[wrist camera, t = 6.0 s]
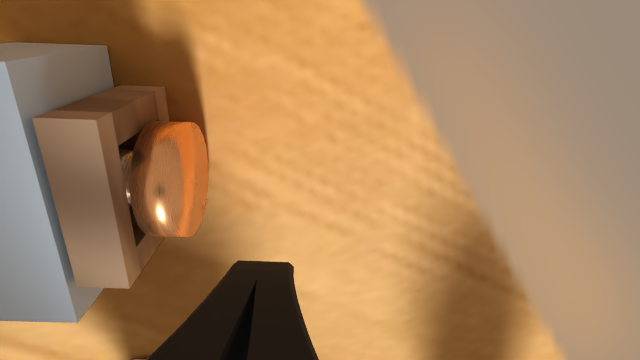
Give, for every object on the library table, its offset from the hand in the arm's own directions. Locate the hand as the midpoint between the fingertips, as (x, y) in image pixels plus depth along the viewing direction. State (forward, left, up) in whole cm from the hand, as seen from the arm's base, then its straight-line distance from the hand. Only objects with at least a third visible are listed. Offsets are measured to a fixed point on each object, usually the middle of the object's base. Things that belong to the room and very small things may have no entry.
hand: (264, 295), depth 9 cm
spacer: (0, +7, -10) cm, 13 cm away
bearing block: (0, +10, -10) cm, 15 cm away
